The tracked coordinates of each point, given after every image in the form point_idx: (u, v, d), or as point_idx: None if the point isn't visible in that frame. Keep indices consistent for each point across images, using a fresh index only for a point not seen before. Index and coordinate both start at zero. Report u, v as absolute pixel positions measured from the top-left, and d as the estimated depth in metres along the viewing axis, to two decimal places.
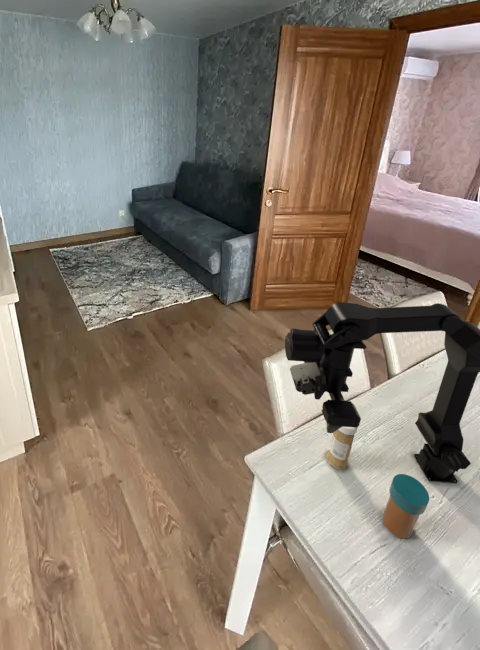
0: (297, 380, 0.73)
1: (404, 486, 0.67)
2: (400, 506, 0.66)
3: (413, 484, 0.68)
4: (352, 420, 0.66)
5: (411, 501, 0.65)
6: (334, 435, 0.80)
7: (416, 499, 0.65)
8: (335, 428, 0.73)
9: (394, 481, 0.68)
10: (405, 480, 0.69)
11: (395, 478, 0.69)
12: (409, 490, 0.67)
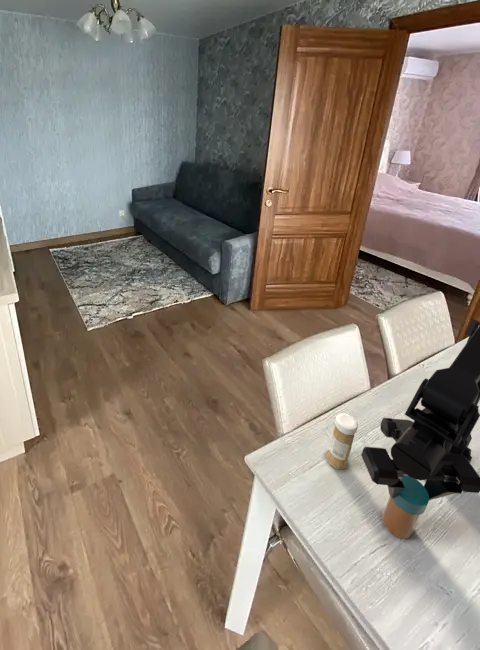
0: None
1: None
2: (400, 506, 0.66)
3: (413, 484, 0.68)
4: (371, 468, 0.64)
5: (411, 501, 0.65)
6: (334, 435, 0.80)
7: (416, 499, 0.65)
8: (390, 490, 0.67)
9: None
10: (405, 480, 0.69)
11: None
12: (409, 490, 0.67)
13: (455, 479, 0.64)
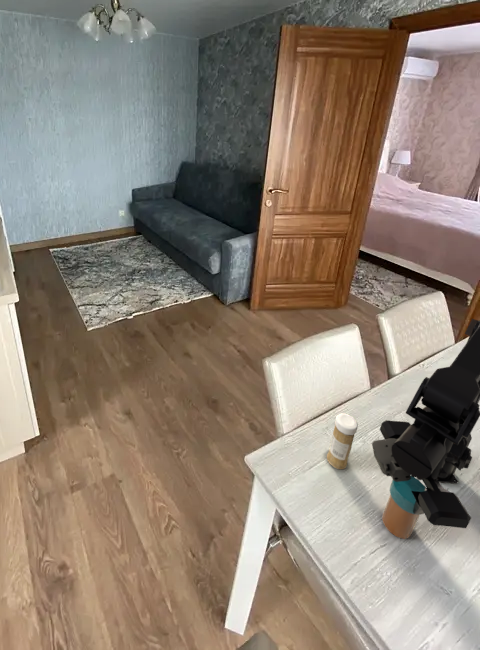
0: (385, 463, 0.62)
1: (411, 493, 0.66)
2: None
3: (402, 482, 0.68)
4: (462, 520, 0.56)
5: None
6: (334, 435, 0.80)
7: (421, 489, 0.67)
8: None
9: (410, 500, 0.65)
10: (402, 488, 0.67)
11: (406, 497, 0.65)
12: None
13: None
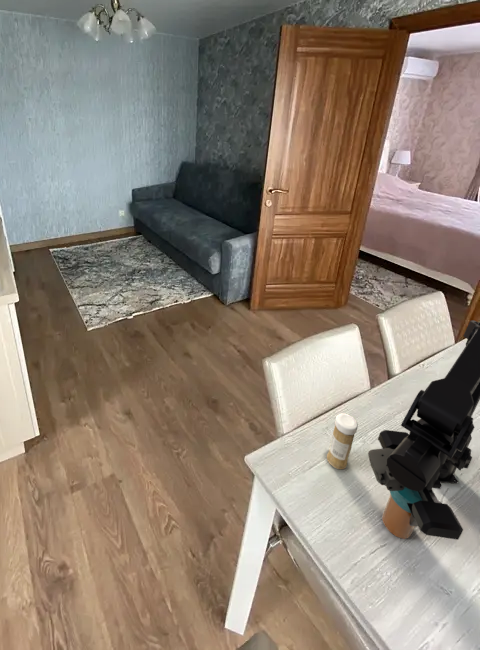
0: (380, 472, 0.64)
1: (411, 493, 0.66)
2: None
3: None
4: (453, 531, 0.57)
5: None
6: (334, 435, 0.80)
7: None
8: None
9: (410, 500, 0.65)
10: None
11: (406, 497, 0.65)
12: (414, 491, 0.66)
13: None
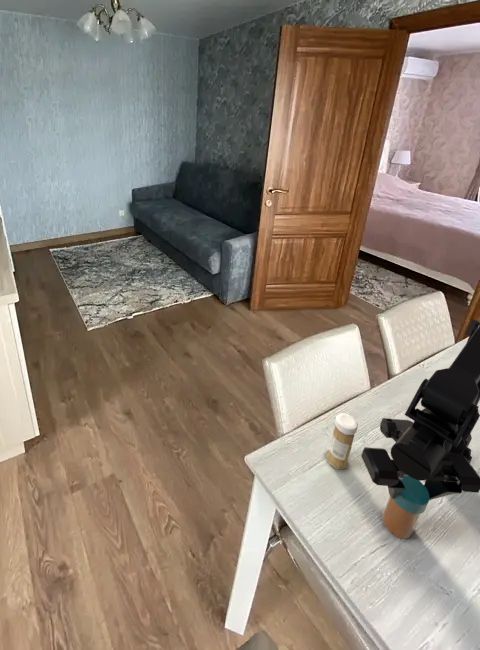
0: None
1: (411, 493, 0.66)
2: (424, 509, 0.66)
3: (402, 482, 0.68)
4: (372, 468, 0.64)
5: (426, 495, 0.66)
6: (334, 435, 0.80)
7: (421, 488, 0.67)
8: (390, 491, 0.67)
9: (410, 500, 0.65)
10: None
11: (406, 497, 0.65)
12: (414, 491, 0.66)
13: (455, 479, 0.64)
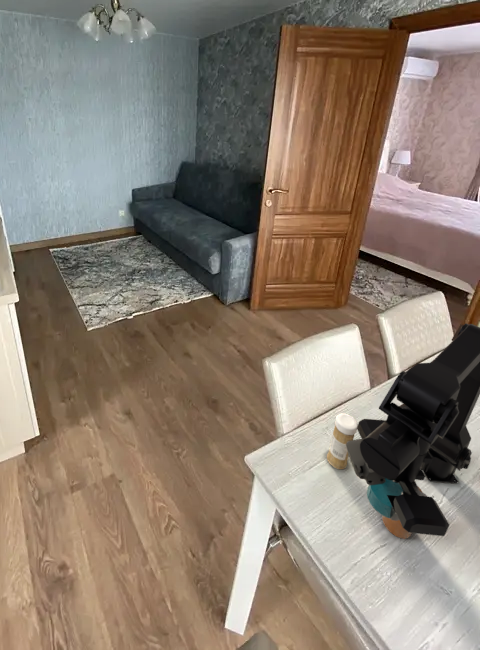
0: (359, 464, 0.57)
1: (395, 493, 0.62)
2: None
3: (385, 495, 0.61)
4: (439, 527, 0.51)
5: None
6: (334, 435, 0.80)
7: None
8: None
9: None
10: None
11: None
12: (390, 489, 0.62)
13: None
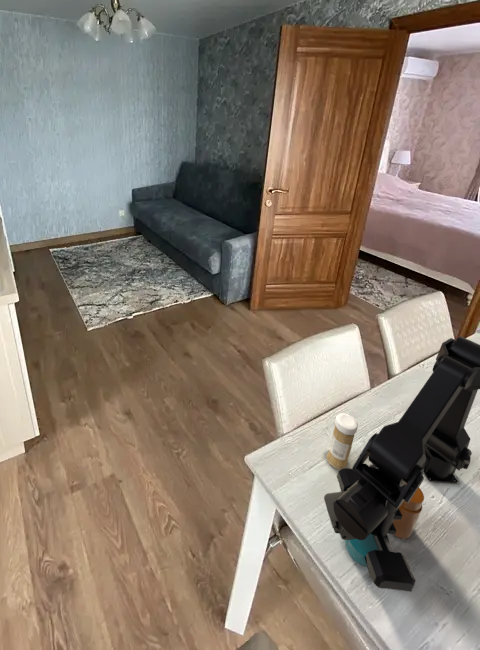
0: (335, 519, 0.62)
1: (370, 542, 0.66)
2: None
3: (361, 544, 0.65)
4: (406, 584, 0.55)
5: None
6: (334, 435, 0.80)
7: None
8: None
9: None
10: (369, 549, 0.65)
11: None
12: None
13: None
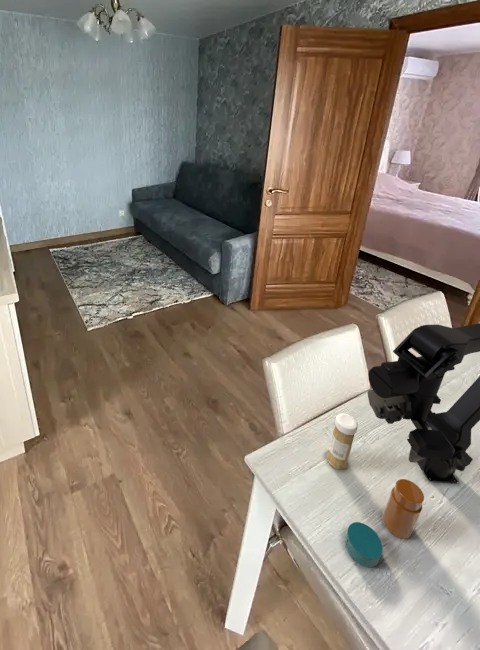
0: (379, 407, 0.69)
1: (370, 542, 0.66)
2: None
3: (361, 544, 0.65)
4: (447, 452, 0.62)
5: (365, 526, 0.68)
6: (334, 435, 0.80)
7: (360, 528, 0.68)
8: (420, 458, 0.68)
9: (380, 548, 0.65)
10: (369, 549, 0.65)
11: (379, 552, 0.64)
12: (366, 537, 0.66)
13: None
